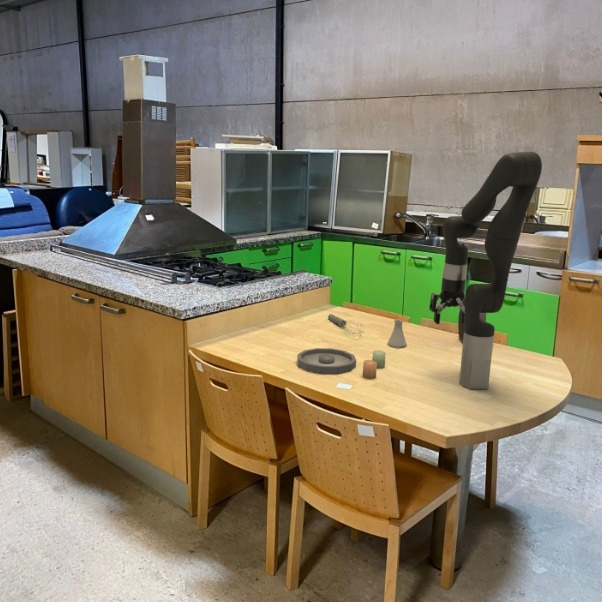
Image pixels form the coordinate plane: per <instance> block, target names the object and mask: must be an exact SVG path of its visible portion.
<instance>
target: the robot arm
mask: <svg viewBox="0 0 602 602" xmlns="http://www.w3.org/2000/svg"><path fill="white" fill-rule="evenodd" d="M542 167H543V162H542V159H541V156H540V155H539V153H537V152H535V151H518V152H517V151H516V152H510V153H506V154H503V155H502V156H501V157H500V158H499V160H498V161H497V162H496V163H495V165H494V167H493V168H492V169H491V171H490V172H489V175H488V176H487V178H486V179H485V181H484V183H483V184H482V186H481V187H480V188H479V190H478V191H477V192H476V193H475V194H474V195H473V197H472V198H471V199H470V200H469V201H468V202H467V203H466V204H465V205H464V206H463V208H461V209H462V210H461V212H460V215H451V216H448V217H446V218H445V220H444V221H443V224H442V233H443V234H442V235H443V238H444V246H445V257H444V265H443V269H442V275H441V276H442V278H441V279H442V280H441V289H440V293H435V292H432V293H431V295H430V302H429V308H428V309H429V311H431V312H432V313H434V314H433V322H434V323H435V324H436V325H440V324H441V323H440V322H441V313H442V311H443V310H445V309H446V308H447V307H448V308H451V307H454V308H456V307H457V308H459V311H460V310H461V312H460V314H459V313H458V317H459V323H460V324H463V322H464V338H463V342H462V349H461V358H460V370H459V371H460V372H459V380H458V383H459V385H461V386H463V387H465V388H467V389H469V390H488V389H489V385H490V377H491V366H492V365H491V364H492V357H493V356H492V355H493V348H494V337H495V331H496V330H495V329H496V327H495V326H494V325H493V324H492V323H489V322H487V321H486V322H485V321H482V320H480V313H486V314H494V313H498V312H500V310H501V309H502V307H503V305H504V302H505V297H506V296H505V295H506V291H507V288H508V281H509V275H510V270H511V268H512V264H513V260H514V256H515V253H516V250H517V247H518V244H519V240H520V237H521V233H522V230H523V229H522V228H523V225H524V222H525V218H526V215H527V213H528V210H529V206H530V204H531V201H532V198H533V195H534V194H535V191H536V188H537V186H538V184H539V181H540V178H541V175H542V169H543V168H542ZM510 187H512V189H511V192H510V194H509V196H508V198H507V200H506V202H504V204H503V205H502V207H500V209H499V210H498V211H497V213H496V214H495V215H494V216H493V218H492V220H491V221H490V223H489V225H488V228H487V232H486V235H485V239H484V250H485V253H486V256H487V258H488V260H489V263H490V265H491V268H492V279H491V282H490V283H471V284H468V286H467V288H466V279H467V272H468V269H467V266H468V265H467V264H468V255H469V248H468V247H467V246H466V245H462V244H459V242H458V239H467V238H470V237H471V238H472V237H473V236H475V234H476V233H477V231H478V229H479V227H480V225H481V223H482V221H483V220H484V219H485V218H487V217H488V216H489V215H490V214H491V213H492V211H493V210H494V208H495V207H496V203H497V199H498V198H497V197H498V195H499V194H501V193H502V192H503V191H504V190H506V189H508V188H510ZM465 288H466V289H465ZM465 290H466V291H465ZM464 298H465V307H464V305H463V303H462V300H463V299H464ZM439 299H440V301H439ZM438 301H439V302H438Z"/></svg>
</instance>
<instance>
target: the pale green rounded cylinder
mask: <svg viewBox="0 0 602 602" xmlns="http://www.w3.org/2000/svg"><path fill="white" fill-rule="evenodd" d="M386 355H387V354H386V351H383V350H374V351H373V352H372V359H371V360H373V361H376V362H377V368H376V369H384V368H385V366H386Z"/></svg>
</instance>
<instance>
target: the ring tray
mask: <svg viewBox="0 0 602 602" xmlns="http://www.w3.org/2000/svg"><path fill="white" fill-rule="evenodd" d="M296 355H297V356H296V357H297V360H296V362H297V366H298V368H301V370H303V371H306V372H310V373H315V374H320V375H339V374H343V373H344V374H345V373H348V372H352V370H354V369H355V368H356V366H357V359H356V356H355V354H352V353H350V352H349V351H347V350H342V349H336V348H330V347H329V348H328V347H326V348H325V347H323V348H322V347H319V348H318V347H317V348H311V349H305V350H302V351H301V352H299V353H298V354H296Z"/></svg>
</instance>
